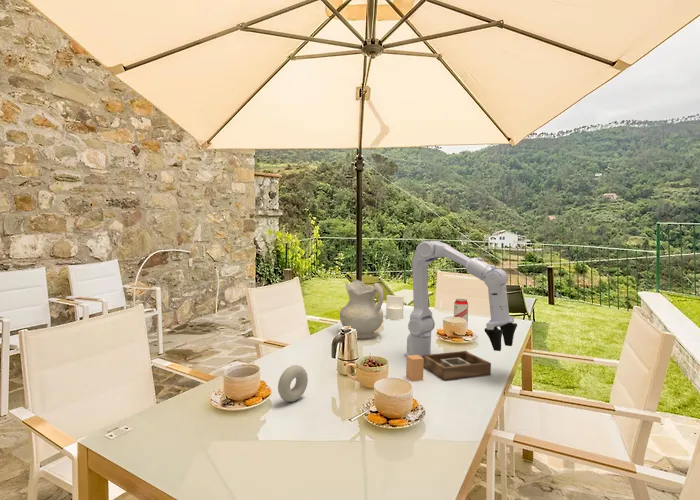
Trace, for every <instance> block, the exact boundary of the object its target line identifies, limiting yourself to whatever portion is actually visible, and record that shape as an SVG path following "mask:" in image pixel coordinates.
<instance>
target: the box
mask: <svg viewBox="0 0 700 500" xmlns="http://www.w3.org/2000/svg"><path fill="white" fill-rule="evenodd" d="M422 358H424V365H423V369H425V370H427V371H428V372H429V373H431V374H433V375H434V376H436V377H437V378H439V379H441V380H442V381H444V382H446V381H447V382H448V381H454V380H455V381H456V380H461V379H462V380H463V379H469V378H477V377H478V378H479V377H485V376H491V374H492V371H491V370H492V362H489V361H487V360H485V359H483V358H482V357H480V356H478V355H475V354H472V353H471V352H469V351H466V350H463V351H452V352H443V353H442V352H441V353H434V354H430V355H422Z"/></svg>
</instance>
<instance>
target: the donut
mask: <svg viewBox="0 0 700 500" xmlns="http://www.w3.org/2000/svg"><path fill="white" fill-rule="evenodd" d="M294 379H295V383H294V386H292V388H291V384H292V382H293V380H294ZM308 380H309V379H308V373H307V370H306V369H304V367H303V366H301V365H298V364H294V365H290V366H289V367H287V368H285V370H284V371H283V372H282V373H281V375H280V377H279V380H278V382H277V383H278V384H277V392H278V394H279V396H280V398H281V399H282V401H284V402H289V403H292V402H296V401H298V400H299V399H300V398H301V397H302V396H303V395H304V393H305V392H306V389H307V387H308V383H309V381H308Z"/></svg>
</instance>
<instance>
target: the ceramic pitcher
mask: <svg viewBox="0 0 700 500" xmlns="http://www.w3.org/2000/svg"><path fill="white" fill-rule="evenodd" d="M344 284H345V289H346V292H347V293H348V297H349V298H348V299H349V300H348V303H346V304H345V305H344V306H343V307H342V308H341V309H340V311H339V319H340V322H341V323H340V324H341V325H342V327H344V326H351V327H352V328H354V329H356V331H357V337H358V338H357V339H363V340H364V339H365V340H369V339H373V338H375V334H374V332H376V331H378V330H379V328H380V327H381V325H382V324H383V322H384V311H383V309H382V305H383V303H384V290H383V285H382V284H381V282H374V283H373V284H374V286H373V285H366V284H365V282H364V281H361V280H359V279H354V280H352V281H351V282H350V283H348V282H347V281H346V282H345V283H344ZM377 293H378V301H377V303H376V302H375V297H376V294H377Z"/></svg>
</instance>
